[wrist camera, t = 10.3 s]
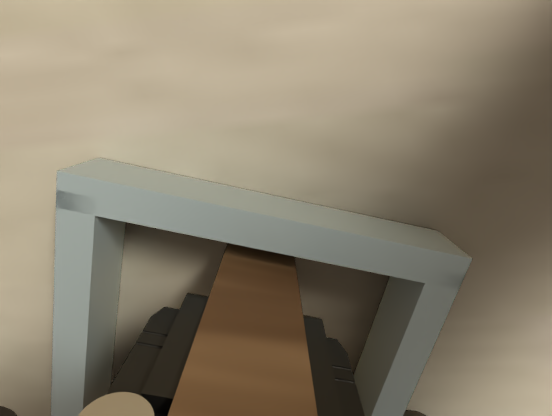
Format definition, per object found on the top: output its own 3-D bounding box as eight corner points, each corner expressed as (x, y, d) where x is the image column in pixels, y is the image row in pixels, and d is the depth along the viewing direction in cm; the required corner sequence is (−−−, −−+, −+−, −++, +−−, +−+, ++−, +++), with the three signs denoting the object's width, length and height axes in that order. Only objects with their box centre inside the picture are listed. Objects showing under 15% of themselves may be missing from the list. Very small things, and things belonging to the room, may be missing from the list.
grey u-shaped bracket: (98, 157, 13) (56, 170, 10) (437, 230, 13) (472, 258, 11) (83, 395, 16) (50, 446, 14) (354, 440, 17) (367, 496, 14)
